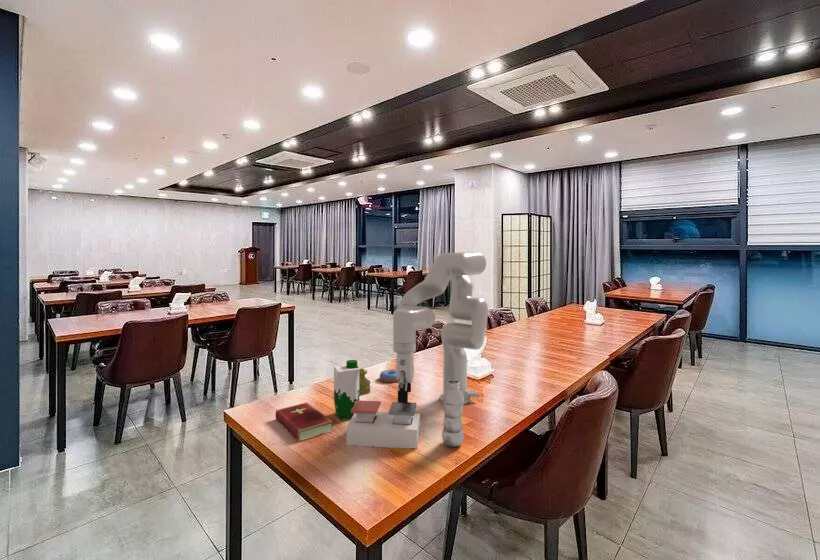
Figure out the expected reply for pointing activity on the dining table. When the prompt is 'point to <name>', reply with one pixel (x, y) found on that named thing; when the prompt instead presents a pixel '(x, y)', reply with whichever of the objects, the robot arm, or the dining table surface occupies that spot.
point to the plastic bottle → (453, 415)
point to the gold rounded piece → (363, 382)
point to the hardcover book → (303, 421)
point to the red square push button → (366, 411)
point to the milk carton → (346, 388)
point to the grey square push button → (402, 412)
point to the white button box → (384, 432)
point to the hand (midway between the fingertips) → (404, 397)
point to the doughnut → (388, 376)
